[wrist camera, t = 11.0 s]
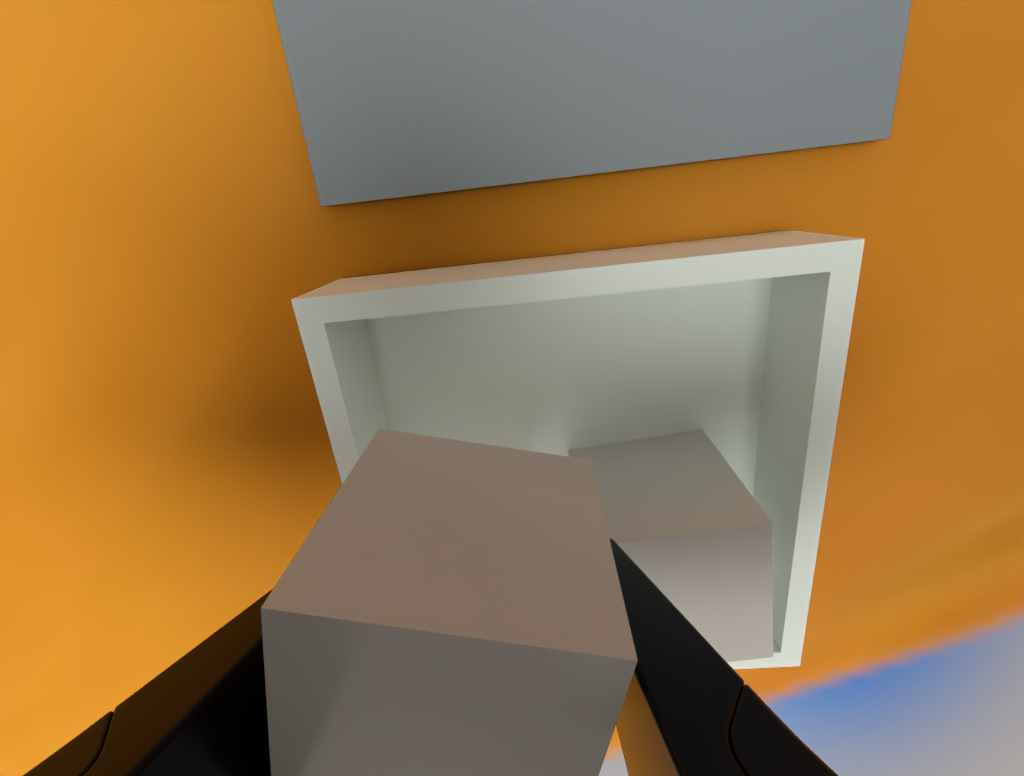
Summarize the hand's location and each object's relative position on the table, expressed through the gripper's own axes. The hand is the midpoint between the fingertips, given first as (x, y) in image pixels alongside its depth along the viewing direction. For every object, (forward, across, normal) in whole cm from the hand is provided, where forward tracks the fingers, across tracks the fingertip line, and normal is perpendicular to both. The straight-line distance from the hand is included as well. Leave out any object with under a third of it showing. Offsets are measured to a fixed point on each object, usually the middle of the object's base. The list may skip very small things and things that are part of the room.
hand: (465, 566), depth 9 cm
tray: (+6, -2, +2) cm, 7 cm away
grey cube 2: (+1, 0, 0) cm, 1 cm away
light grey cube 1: (+6, -4, +3) cm, 8 cm away
